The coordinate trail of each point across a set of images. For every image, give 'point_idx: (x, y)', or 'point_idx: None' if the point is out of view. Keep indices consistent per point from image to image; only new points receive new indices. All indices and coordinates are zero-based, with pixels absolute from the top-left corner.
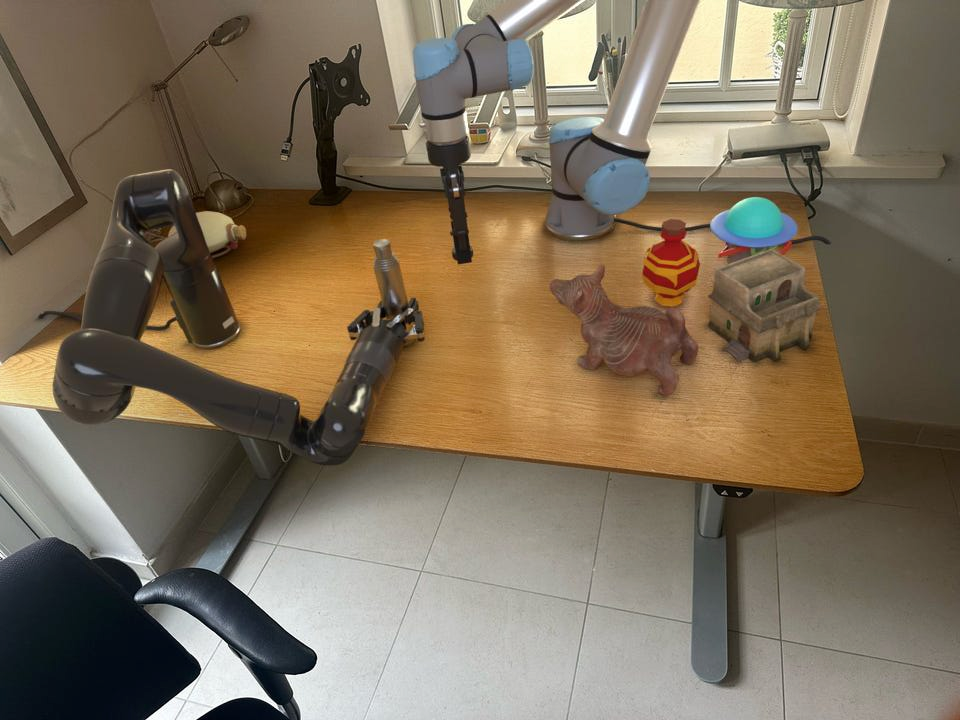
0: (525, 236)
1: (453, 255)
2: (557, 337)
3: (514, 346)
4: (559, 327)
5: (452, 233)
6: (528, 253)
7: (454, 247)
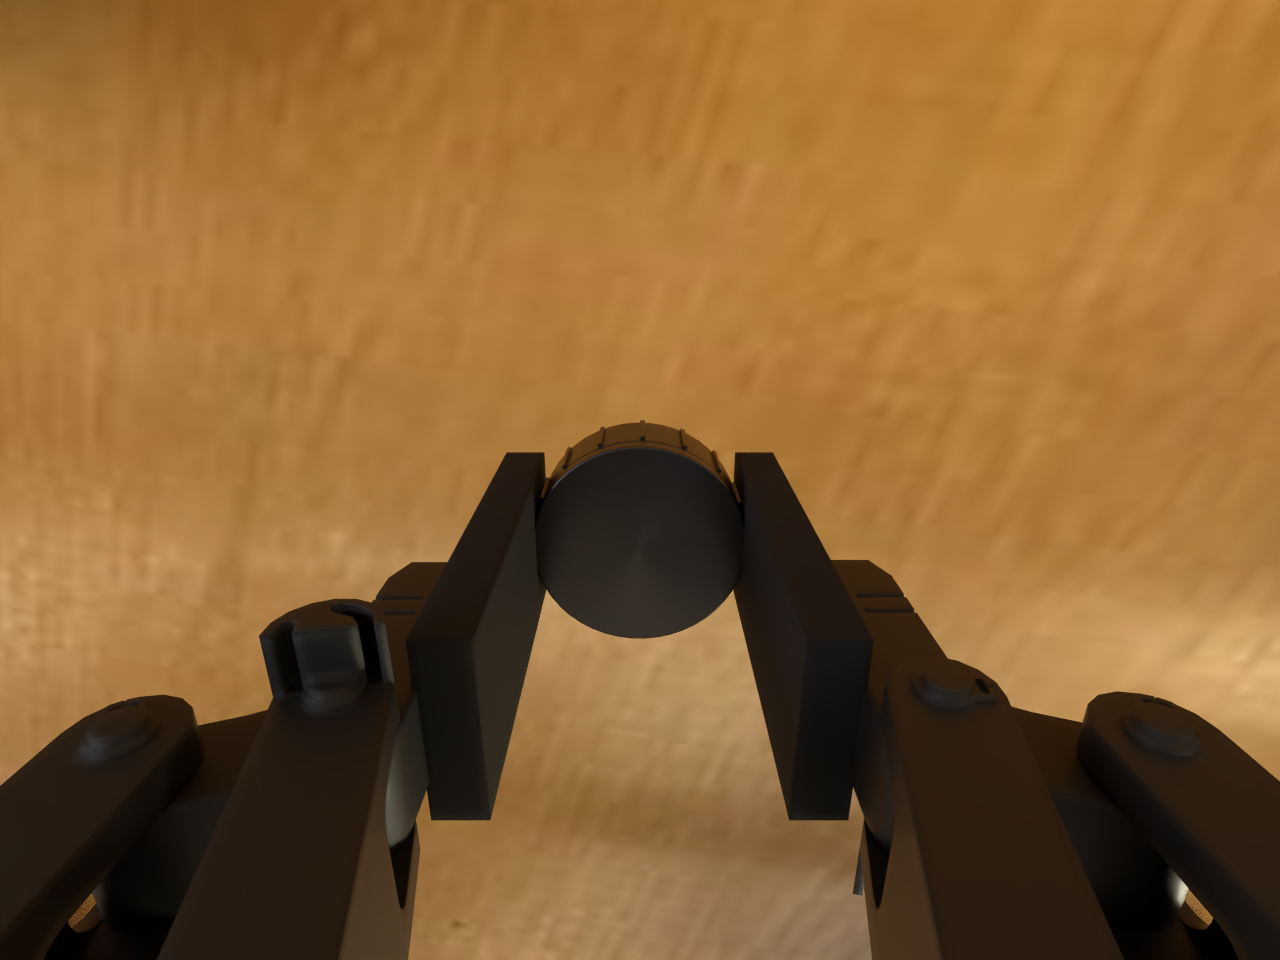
0: None
1: (598, 443)
2: None
3: (5, 583)
4: None
5: (268, 664)
6: None
7: (703, 480)
